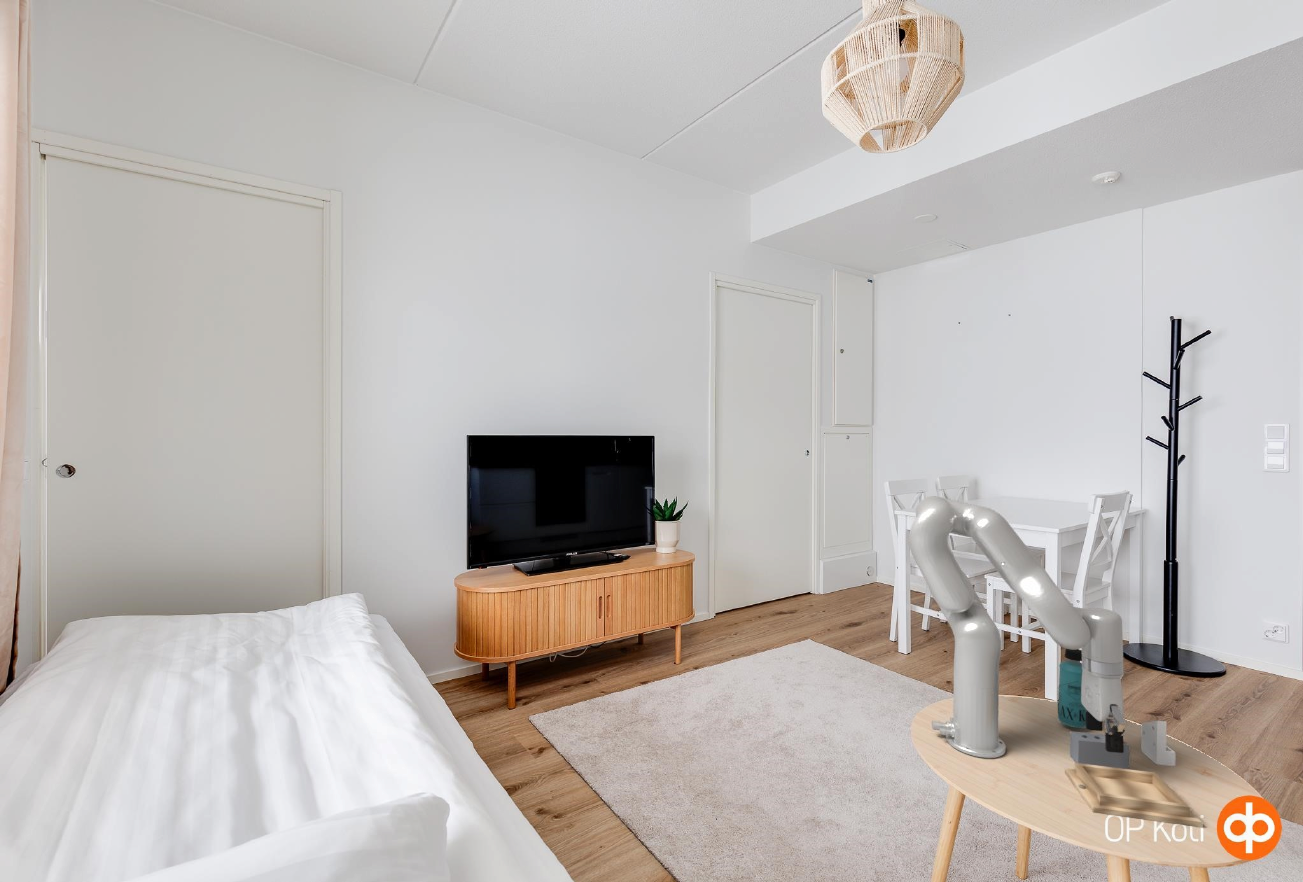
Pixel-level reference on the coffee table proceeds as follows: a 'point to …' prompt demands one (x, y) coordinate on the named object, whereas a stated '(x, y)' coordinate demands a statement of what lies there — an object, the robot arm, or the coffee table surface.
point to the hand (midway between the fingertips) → (1104, 740)
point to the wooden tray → (1130, 794)
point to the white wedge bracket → (1156, 743)
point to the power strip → (1096, 751)
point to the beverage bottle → (1071, 690)
